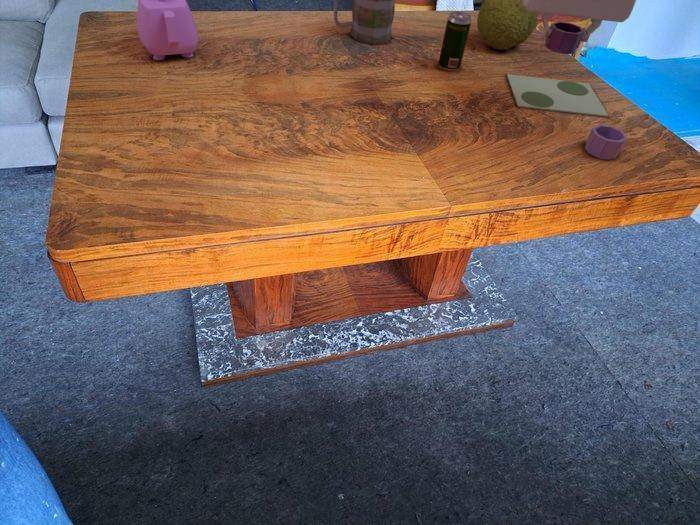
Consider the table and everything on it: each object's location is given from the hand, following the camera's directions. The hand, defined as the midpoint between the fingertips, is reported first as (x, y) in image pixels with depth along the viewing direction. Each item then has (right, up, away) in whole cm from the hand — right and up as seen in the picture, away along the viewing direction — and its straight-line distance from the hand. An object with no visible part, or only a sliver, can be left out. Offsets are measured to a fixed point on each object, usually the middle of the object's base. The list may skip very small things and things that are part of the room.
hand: (563, 38), depth 102 cm
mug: (-40, +14, +31) cm, 53 cm away
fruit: (-3, +13, +34) cm, 37 cm away
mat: (+4, -6, +15) cm, 17 cm away
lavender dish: (+7, -23, -1) cm, 24 cm away
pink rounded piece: (-84, +4, +15) cm, 86 cm away
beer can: (-19, +2, +21) cm, 29 cm away
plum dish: (0, -1, +1) cm, 2 cm away
